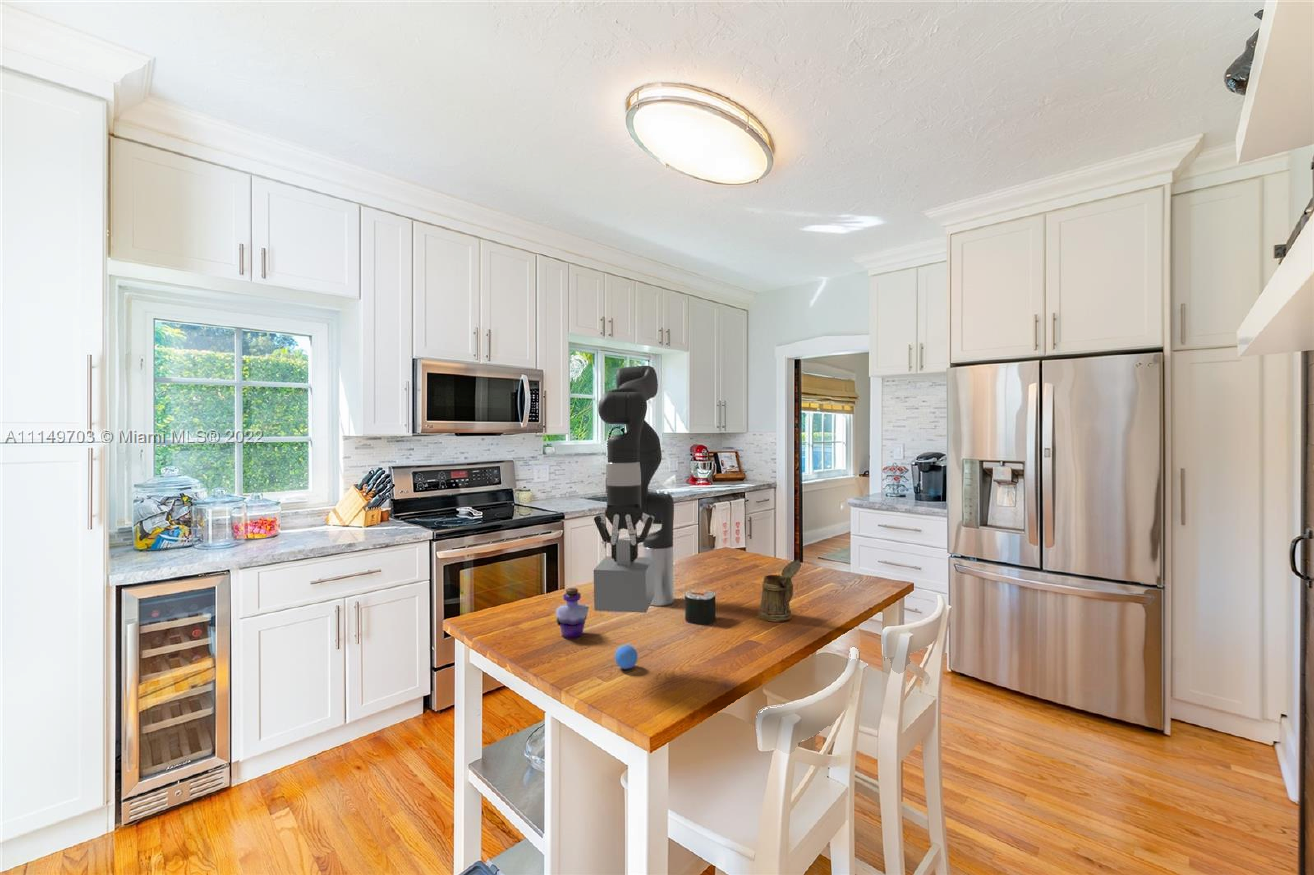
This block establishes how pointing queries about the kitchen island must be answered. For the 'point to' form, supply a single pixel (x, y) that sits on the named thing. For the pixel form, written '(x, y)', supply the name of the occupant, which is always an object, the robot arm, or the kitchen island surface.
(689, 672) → the kitchen island surface
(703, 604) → the sushi
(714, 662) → the kitchen island surface
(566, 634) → the potion bottle
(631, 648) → the ball
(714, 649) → the kitchen island surface
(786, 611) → the wooden mug
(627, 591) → the grey block
